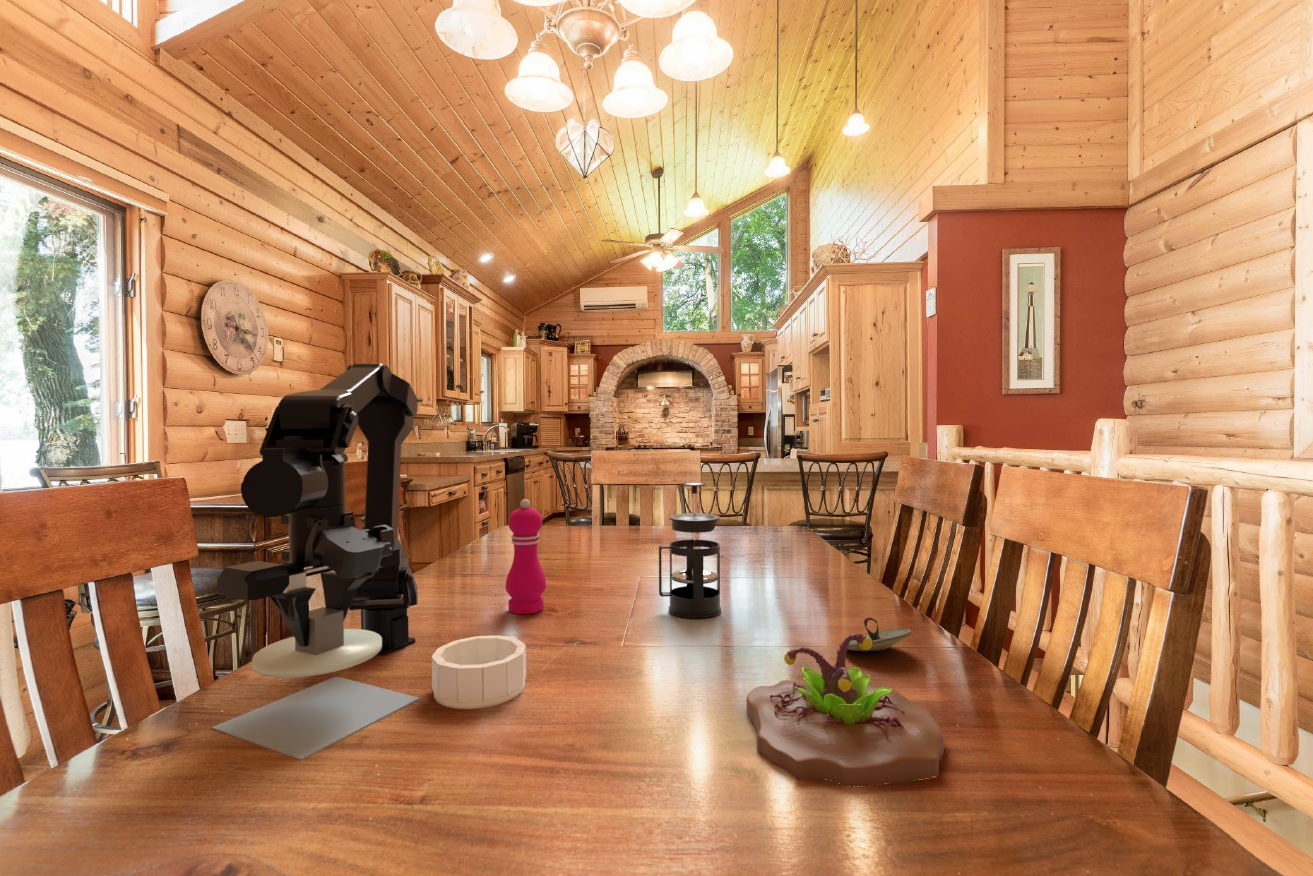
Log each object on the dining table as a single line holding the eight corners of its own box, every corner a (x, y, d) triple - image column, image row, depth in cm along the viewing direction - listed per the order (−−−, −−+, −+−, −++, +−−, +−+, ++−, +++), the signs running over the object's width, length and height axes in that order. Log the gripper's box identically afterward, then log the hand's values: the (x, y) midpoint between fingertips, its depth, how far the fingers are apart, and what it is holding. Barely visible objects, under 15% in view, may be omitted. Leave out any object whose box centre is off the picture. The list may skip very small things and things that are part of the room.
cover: (225, 665, 67) (224, 622, 67) (333, 629, 79) (332, 592, 79) (303, 686, 62) (302, 639, 62) (406, 644, 74) (405, 604, 73)
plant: (981, 795, 56) (982, 672, 56) (765, 792, 56) (765, 670, 56) (900, 697, 76) (900, 607, 76) (741, 696, 76) (741, 606, 76)
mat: (212, 730, 67) (212, 727, 67) (336, 679, 81) (335, 676, 81) (301, 763, 61) (301, 759, 61) (419, 701, 74) (419, 697, 74)
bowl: (413, 699, 75) (413, 658, 75) (476, 667, 85) (476, 631, 84) (484, 718, 70) (483, 674, 70) (542, 681, 80) (542, 643, 80)
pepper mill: (537, 616, 107) (536, 501, 106) (498, 614, 108) (497, 501, 108) (552, 604, 114) (551, 497, 114) (516, 602, 115) (515, 496, 115)
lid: (886, 672, 82) (887, 635, 82) (824, 651, 90) (824, 617, 90) (925, 653, 89) (926, 619, 89) (864, 635, 97) (864, 604, 97)
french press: (719, 602, 115) (719, 479, 115) (729, 618, 106) (729, 484, 105) (656, 604, 114) (656, 480, 114) (661, 620, 105) (661, 485, 104)
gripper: (282, 520, 58) (284, 684, 59) (432, 499, 75) (433, 626, 75) (212, 514, 63) (215, 665, 63) (368, 495, 80) (370, 614, 80)
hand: (319, 640), depth 70 cm, fingers closed on cover, 3 cm apart
